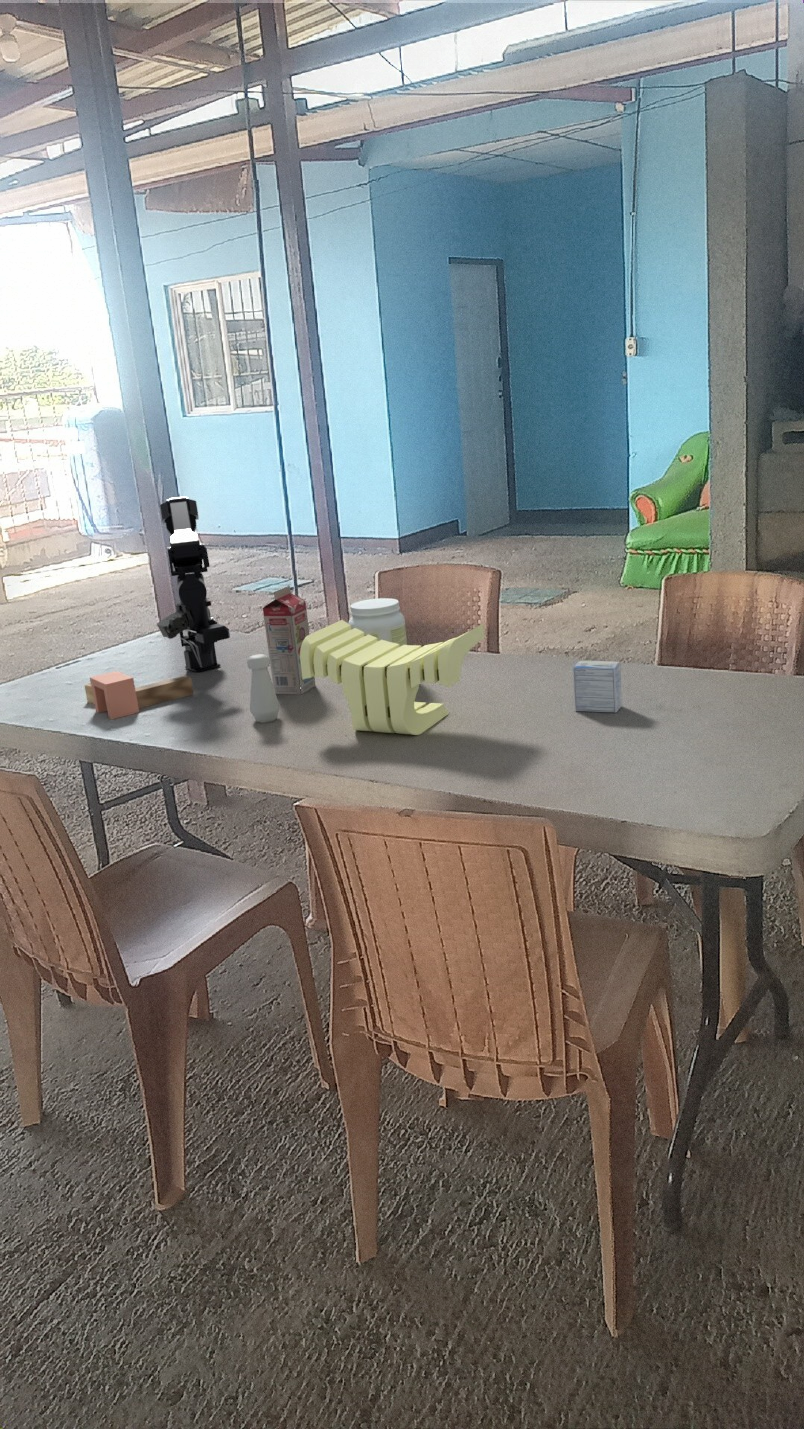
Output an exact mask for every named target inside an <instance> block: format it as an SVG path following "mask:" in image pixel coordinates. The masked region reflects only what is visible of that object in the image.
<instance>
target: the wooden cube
mask: <svg viewBox="0 0 804 1429" xmlns="http://www.w3.org/2000/svg"><path fill="white" fill-rule="evenodd" d="M84 692H85V696H86V701H87V703H88V704H94V698H93V693H92V688H91V682H90V683H88V684H84Z"/></svg>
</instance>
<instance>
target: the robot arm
mask: <svg viewBox="0 0 804 1429" xmlns="http://www.w3.org/2000/svg"><path fill="white" fill-rule="evenodd" d="M159 508H160V516H161V521H162V524H165V526H166V527H165V528H166V532H167V533H168V534H169V536H170V537H169V545H170V546H167V554H168V556H167V557H168V560H169V561H168V562H169V563H168V564H169V568H170V569H169V570H170V574H171V575H170V576H171V577H175V576H176V583H177V589H178V590H177V592H178V597H179V603H176V611H175V612H173V613H172V614H169V615H167V616H166V617H164V618H163V619H161V620H160V621H159V622H157V623H156V626H157V627H158V629H159V632H160V633H161V636H162V637H163V638H167V639H169V640H170V639H171V640H172V639H174V638H176V637H177V635H179V637H180V638H179V639H180V644H181V647H182V648H183V647H184V648H185V649H184V651H183V655H184V662H185V663H184V664H185V666H184V668H185V669H186V670H190V671H192V672H195V673H199V672H204V671H208V670H211V669H215V668H218V667H219V668H220V667H221V663H218V660H217V659H218V658H217V654H216V653H217V652H216V646H215V643H217V642H219V641H223V640H227V639H230V638H231V634H230V629H229V628H228V627H227V626H225V625H222V624H219V622H218V621H217V620H215V617H214V616H211V610H210V608H209V607H211V606H212V602H211V600H208V598H207V594H208V592H207V591H208V590H207V587H206V584H205V577H204V574H203V573H207V572H208V568H210V559H209V555H208V554H209V553H208V550H207V549H208V548H207V547H206V546H205V543H204V542H200V537H199V534H198V533H196V531H197V520H199V518H200V517H199V511H198V510H199V509H198V505H197V500H195V499H194V500H193V499H191V498H189V497H188V496H176V497H169V498H168V499H166V501H164V502H163V503H161V504H159Z"/></svg>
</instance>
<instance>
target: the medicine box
mask: <svg viewBox="0 0 804 1429" xmlns="http://www.w3.org/2000/svg"><path fill="white" fill-rule="evenodd" d="M621 670H622V669H621V662H620V661H604V660H594V661H593V660H579V661H578V662H577V663H576V664H575V665H574V666H573V667H572V672H573V673H572V674H573V675H572V676H573V692H574V694H573V695H574V696H573V697H574V710H575V712H592V713H597V712H598V713H614V714H615V713H616V714H617V712H619V710H620V709H621V707H622V706H623V695H622V694H623V692H622V671H621Z"/></svg>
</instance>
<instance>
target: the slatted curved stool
mask: <svg viewBox="0 0 804 1429" xmlns="http://www.w3.org/2000/svg"><path fill="white" fill-rule="evenodd" d="M484 624H485V623H484V622H483V623H481V624H479V625H478V626H476V627H475V628H473V629H471V630H469V631H467V632H464V633H463V634H461V635H459V636H456V637H453V638H450V639H447V640H446V641H440V642H436V643H431V644H430V643H429V644H425V645H424V646H422V645H414V644H413V645H411V644H407V645H402V646H401V647H400V646H399V644H397V643H392V642H388V641H385V640H380V641H378V640H377V638H376V637H374V636H371V635H369V634H368V635H366V636H364V632H363V631H361V630H359V629H357V628H354V629H352V630H351V625H350V624H348V622H347V621H345V620H343V619H340V620H339V621H338V620H337V621H336V622H334V623H332V624H329V625H327V626H325V627H323V628H321V629H319V630H316V631H314V632H312V633H309V635H308V636H306V637H305V639H304V640H303V642H302V645H301V649H300V662H301V670H302V679H306V678H311V677H313V676H314V677H315V678H323V679H324V678H326V677H328V680H330V681H332V682H333V683H335V684H337V685H340V684H341V686H342V692H343V695H344V698H345V700H346V702H347V706H348V707H349V711H350V715H351V721H352V726H353V730H354V731H360V732H361V731H362V732H376V733H388V734H399V735H400V734H402V735H413V736H414V735H415V736H419V735H421V734H423V733H424V732H426V731H427V730H428V729H430V728H431V727H432V726H434V725H435V724H436V723H438V722H439V721H440V720H443V718H445V717H447V715H449V714H450V713H449V711H448V709H447V707H446V705H445V704H444V703H439V702H438V703H437V702H429V704H427V702H420V701H416V697H417V693H418V691H419V688H420V685H421V684H423V683H425V684H437V683H438V682H439V685H440V686H445V687H447V688H452V686H455V685H456V684H458V682H461V672H462V665H463V662H464V659H465V658H466V656H467V654H469V652H470V651H471V650H472V649H473V648H474V647H475V645H477V644H479V643H480V642H481V641H482V640H484V639H485V625H484Z"/></svg>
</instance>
